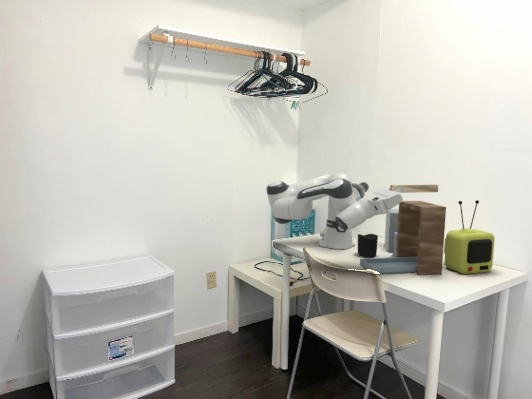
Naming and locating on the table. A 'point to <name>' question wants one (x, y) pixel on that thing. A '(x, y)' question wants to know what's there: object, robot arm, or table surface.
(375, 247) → the pen holder
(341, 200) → the robot arm
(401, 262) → the tray
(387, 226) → the hard drive box
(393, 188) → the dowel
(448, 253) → the television
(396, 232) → the ink cartridge box
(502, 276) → the table surface
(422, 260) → the shelf
